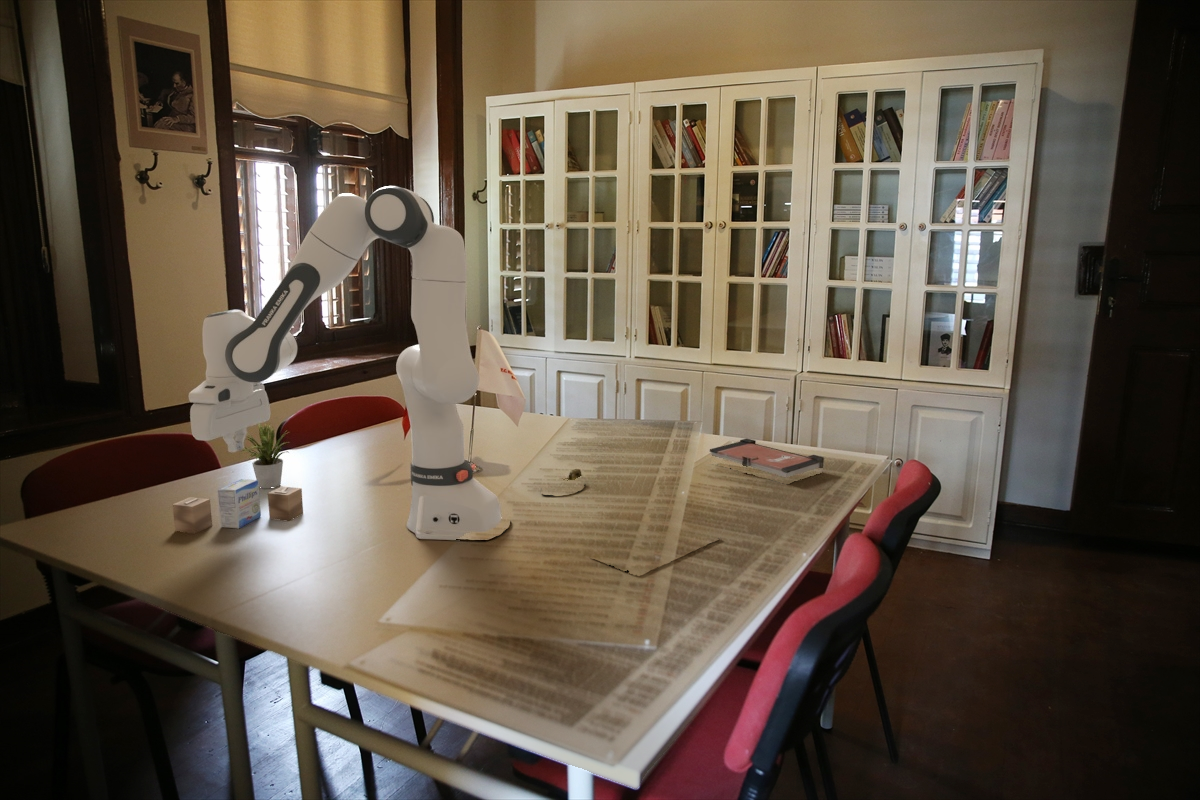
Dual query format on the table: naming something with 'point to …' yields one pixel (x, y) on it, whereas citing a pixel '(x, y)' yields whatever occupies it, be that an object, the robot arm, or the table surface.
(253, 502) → the medicine box
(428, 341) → the robot arm
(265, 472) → the house plant
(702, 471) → the table surface
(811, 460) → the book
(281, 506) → the walnut block seven
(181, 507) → the walnut block one
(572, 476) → the seal
